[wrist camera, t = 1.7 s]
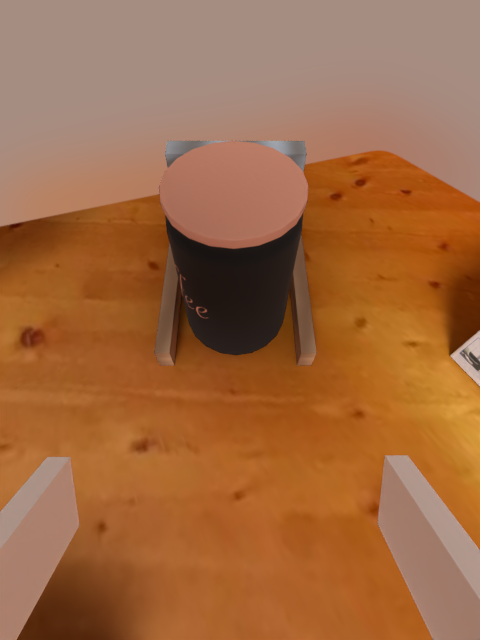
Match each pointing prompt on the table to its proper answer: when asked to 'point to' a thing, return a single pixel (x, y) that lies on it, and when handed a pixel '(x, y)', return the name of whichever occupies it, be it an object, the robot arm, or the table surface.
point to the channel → (298, 286)
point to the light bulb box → (469, 357)
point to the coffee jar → (234, 239)
